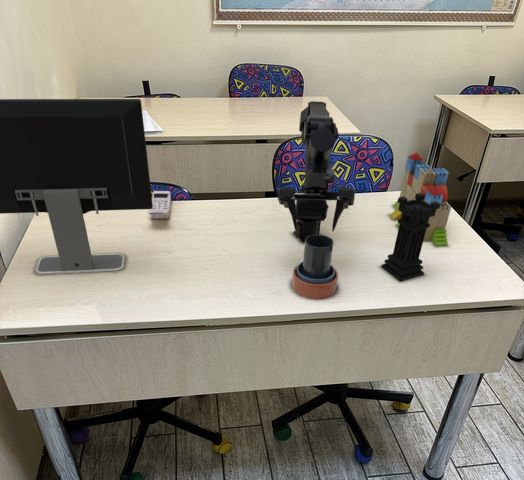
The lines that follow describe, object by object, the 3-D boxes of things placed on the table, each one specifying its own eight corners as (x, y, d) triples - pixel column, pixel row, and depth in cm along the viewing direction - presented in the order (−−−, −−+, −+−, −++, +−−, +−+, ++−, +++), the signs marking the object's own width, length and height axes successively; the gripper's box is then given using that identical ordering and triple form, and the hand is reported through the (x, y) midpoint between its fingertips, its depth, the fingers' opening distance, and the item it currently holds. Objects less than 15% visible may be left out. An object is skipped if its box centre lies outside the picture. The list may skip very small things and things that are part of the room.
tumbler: (310, 274, 134) (315, 231, 126) (332, 283, 131) (338, 240, 123) (295, 285, 130) (299, 241, 122) (318, 294, 126) (323, 250, 118)
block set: (457, 245, 150) (477, 182, 137) (412, 247, 148) (428, 183, 136) (422, 204, 171) (437, 146, 159) (382, 205, 169) (394, 146, 157)
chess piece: (399, 281, 134) (417, 210, 121) (381, 267, 139) (396, 197, 126) (423, 274, 137) (442, 204, 124) (404, 261, 142) (420, 191, 129)
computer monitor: (158, 253, 141) (141, 96, 115) (158, 268, 134) (139, 106, 109) (2, 259, 135) (-53, 96, 110) (-6, 276, 129) (-66, 107, 103)
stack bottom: (321, 271, 136) (323, 257, 134) (344, 292, 129) (346, 279, 126) (284, 280, 132) (285, 266, 130) (305, 302, 125) (307, 289, 122)
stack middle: (320, 273, 135) (322, 256, 132) (340, 291, 129) (342, 274, 126) (288, 280, 132) (289, 264, 129) (307, 300, 125) (309, 283, 122)
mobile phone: (146, 212, 146) (152, 178, 165) (148, 231, 150) (153, 195, 169) (167, 212, 147) (170, 178, 166) (168, 231, 151) (172, 195, 170)
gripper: (277, 155, 120) (273, 221, 119) (357, 155, 117) (354, 222, 117) (281, 172, 131) (278, 233, 131) (355, 173, 128) (351, 234, 128)
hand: (314, 230), depth 126 cm, fingers open, 9 cm apart
